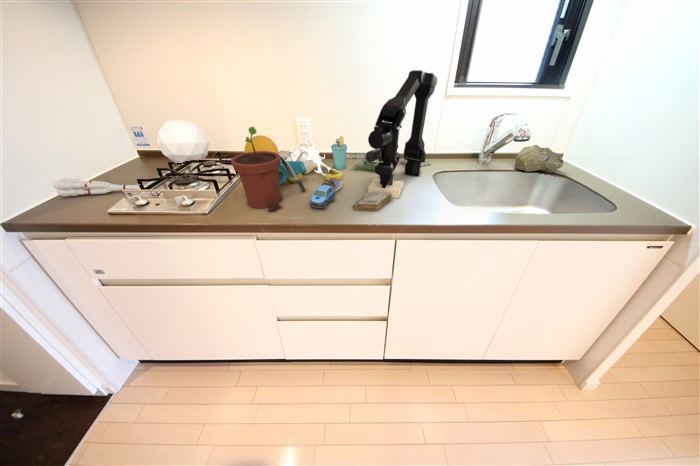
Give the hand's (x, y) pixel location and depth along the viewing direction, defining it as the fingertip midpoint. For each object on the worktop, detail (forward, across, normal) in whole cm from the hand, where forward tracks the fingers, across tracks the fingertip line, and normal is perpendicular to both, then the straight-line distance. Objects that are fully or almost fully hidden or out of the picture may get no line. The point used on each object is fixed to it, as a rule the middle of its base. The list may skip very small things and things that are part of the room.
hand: (386, 183), depth 98 cm
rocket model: (0, +44, -116) cm, 124 cm away
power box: (+3, -25, -13) cm, 28 cm away
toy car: (+3, +18, -20) cm, 27 cm away
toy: (-2, -4, -68) cm, 68 cm away
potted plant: (+3, +22, -38) cm, 44 cm away
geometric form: (+2, -6, -110) cm, 110 cm away
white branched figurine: (-5, -9, -34) cm, 36 cm away
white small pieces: (-8, -11, -44) cm, 46 cm away
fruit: (+3, +4, -39) cm, 39 cm away
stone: (+3, +13, -2) cm, 14 cm away
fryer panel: (+3, 0, 0) cm, 3 cm away
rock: (-4, -42, +64) cm, 77 cm away
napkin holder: (+3, -41, +6) cm, 42 cm away
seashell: (-4, -7, -44) cm, 45 cm away
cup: (+3, -19, -27) cm, 33 cm away
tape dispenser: (-1, +10, -37) cm, 38 cm away
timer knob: (0, 0, 0) cm, 0 cm away
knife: (+3, -2, -22) cm, 23 cm away
